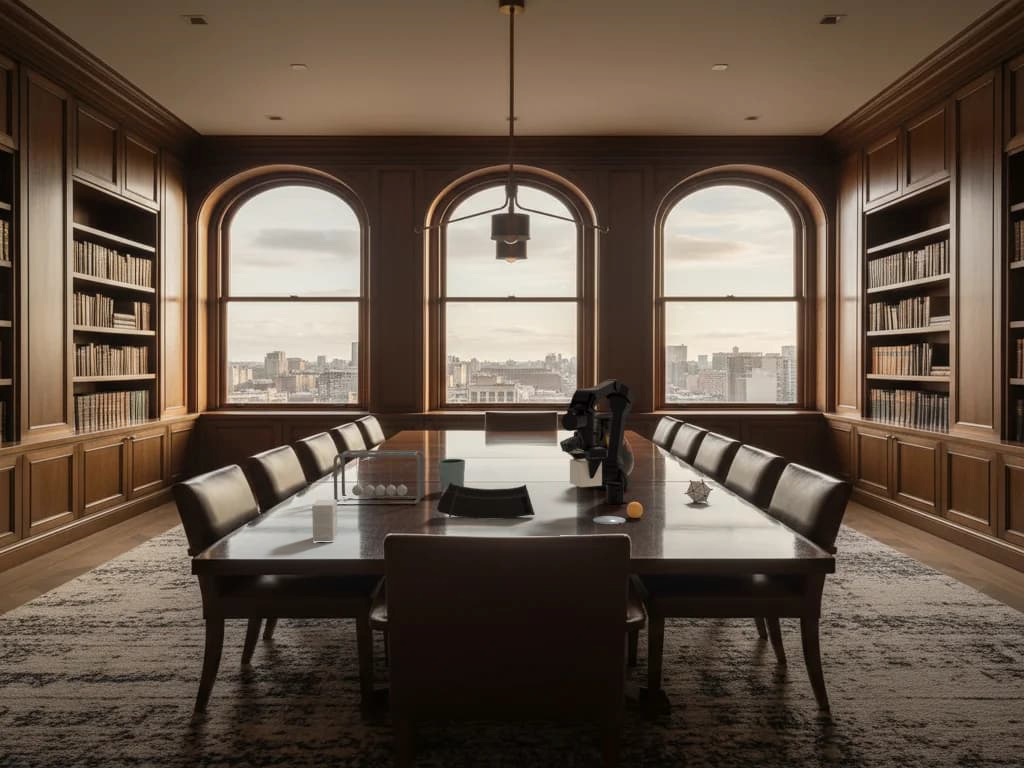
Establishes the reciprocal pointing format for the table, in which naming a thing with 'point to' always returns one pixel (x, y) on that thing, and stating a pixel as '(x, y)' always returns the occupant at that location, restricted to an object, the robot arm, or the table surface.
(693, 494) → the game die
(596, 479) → the block
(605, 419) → the amphora vase
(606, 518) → the disc
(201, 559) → the table surface
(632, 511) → the ball
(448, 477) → the green cup
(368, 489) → the newton's cradle
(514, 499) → the curved black tray
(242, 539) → the table surface
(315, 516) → the small box
